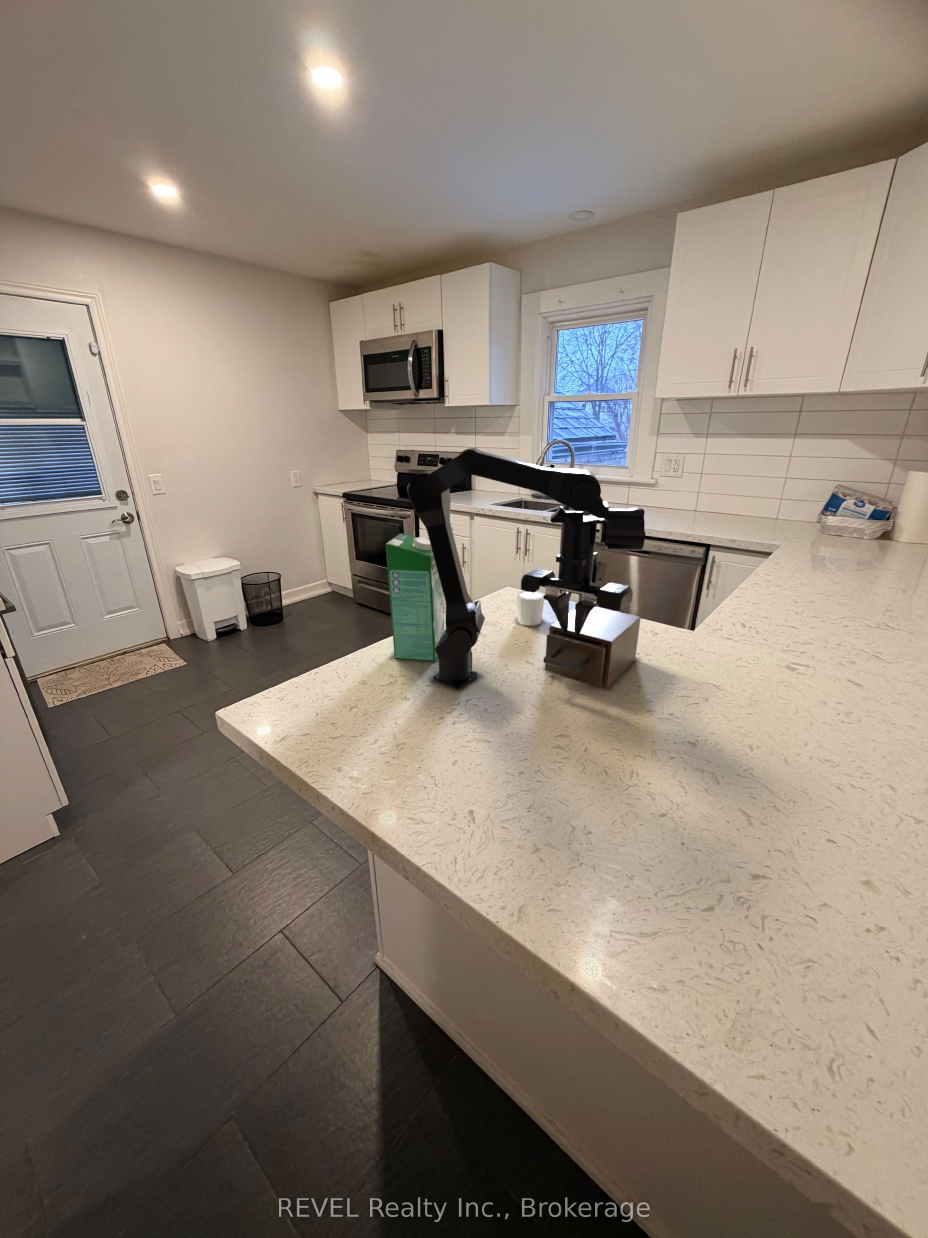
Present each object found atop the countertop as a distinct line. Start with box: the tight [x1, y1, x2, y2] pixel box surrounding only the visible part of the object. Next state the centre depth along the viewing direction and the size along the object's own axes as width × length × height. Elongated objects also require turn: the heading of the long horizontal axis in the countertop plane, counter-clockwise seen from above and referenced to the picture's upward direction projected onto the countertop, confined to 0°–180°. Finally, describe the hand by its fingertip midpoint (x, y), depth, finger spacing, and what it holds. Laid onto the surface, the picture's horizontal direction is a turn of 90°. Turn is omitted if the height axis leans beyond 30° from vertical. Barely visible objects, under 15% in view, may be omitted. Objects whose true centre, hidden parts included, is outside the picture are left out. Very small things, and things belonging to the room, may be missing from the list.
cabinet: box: [549, 606, 642, 689], centre depth 99 cm, size 15×13×10 cm
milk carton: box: [385, 533, 446, 662], centre depth 104 cm, size 9×9×25 cm
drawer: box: [543, 631, 607, 688], centre depth 96 cm, size 18×11×8 cm, turn 142°
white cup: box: [515, 590, 545, 627], centre depth 121 cm, size 7×7×7 cm
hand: (571, 633), depth 89 cm, fingers closed
